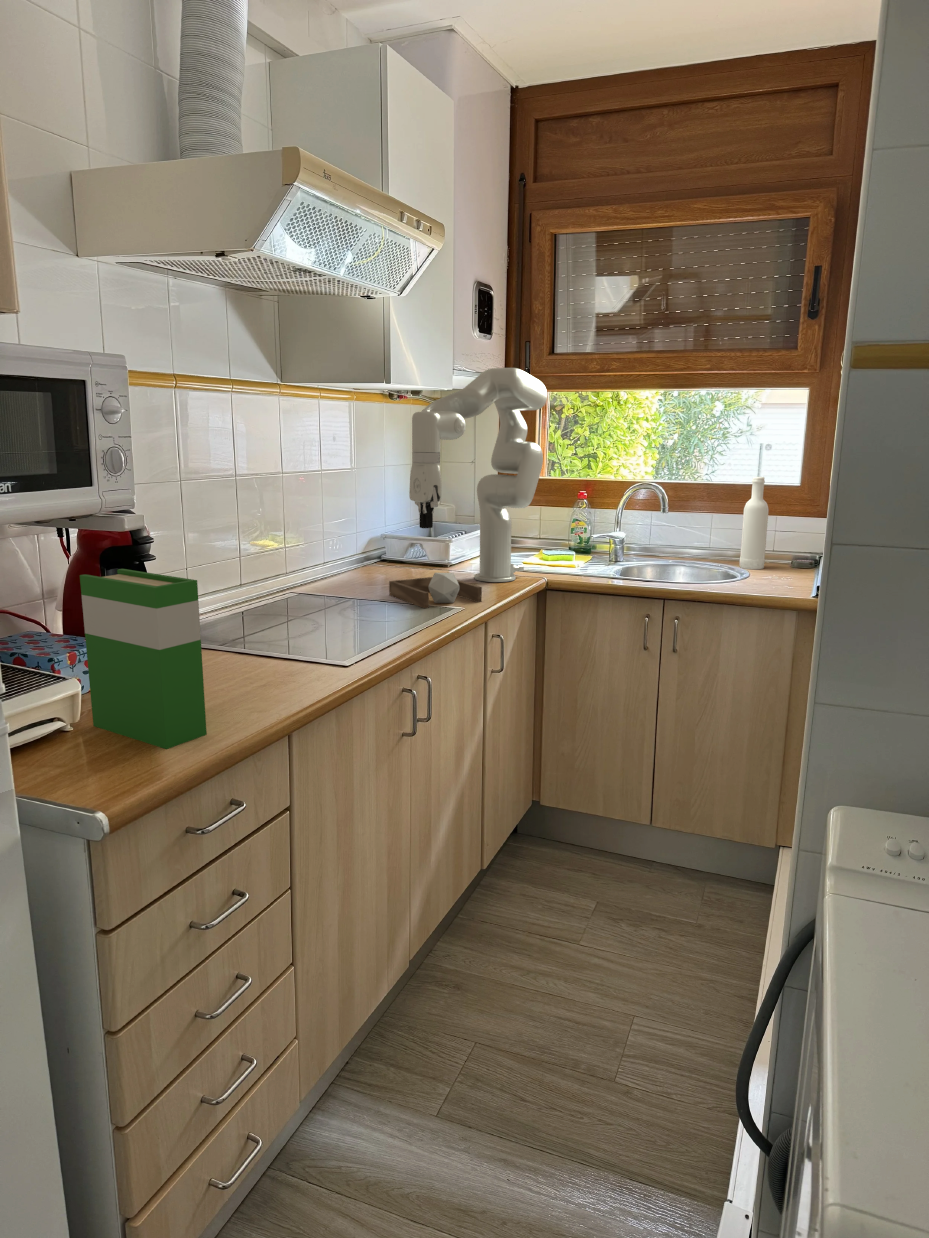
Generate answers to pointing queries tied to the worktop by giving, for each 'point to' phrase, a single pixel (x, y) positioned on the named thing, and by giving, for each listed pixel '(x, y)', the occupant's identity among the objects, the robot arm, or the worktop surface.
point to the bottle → (754, 528)
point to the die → (444, 587)
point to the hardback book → (145, 656)
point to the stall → (419, 588)
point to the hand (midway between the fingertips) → (426, 527)
